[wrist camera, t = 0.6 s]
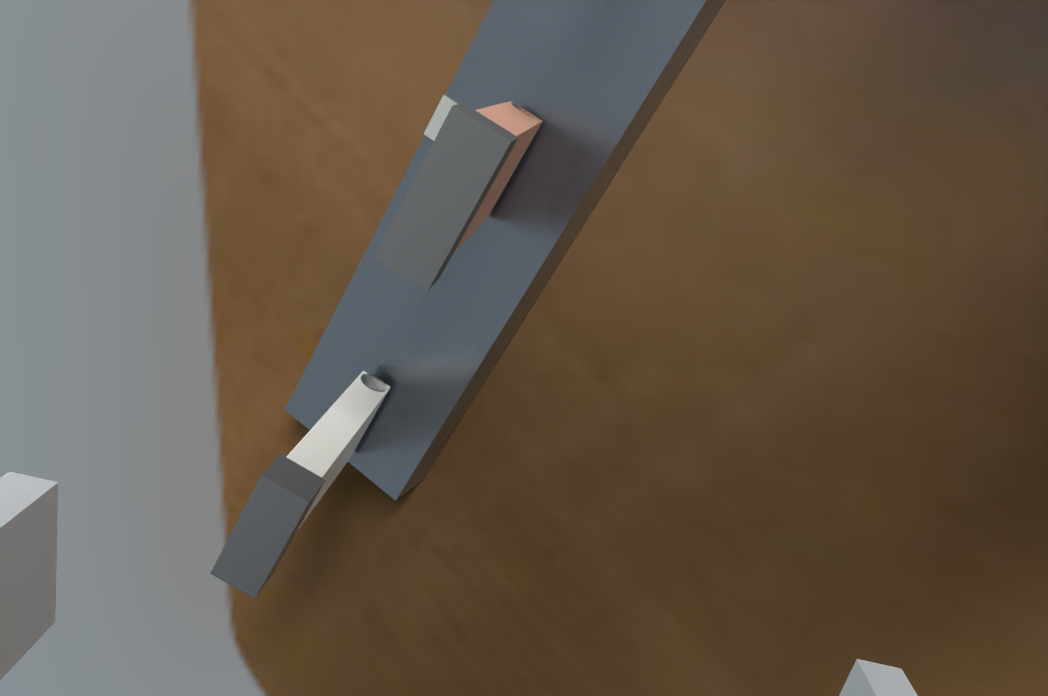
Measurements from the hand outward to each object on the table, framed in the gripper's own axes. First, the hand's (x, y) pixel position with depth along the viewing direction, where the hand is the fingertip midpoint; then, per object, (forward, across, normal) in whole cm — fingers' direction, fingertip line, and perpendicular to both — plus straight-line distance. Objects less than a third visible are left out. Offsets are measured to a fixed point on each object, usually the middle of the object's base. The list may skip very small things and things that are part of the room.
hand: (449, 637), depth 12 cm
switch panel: (+27, -1, +5) cm, 27 cm away
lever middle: (+24, -2, +5) cm, 24 cm away
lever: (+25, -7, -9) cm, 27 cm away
